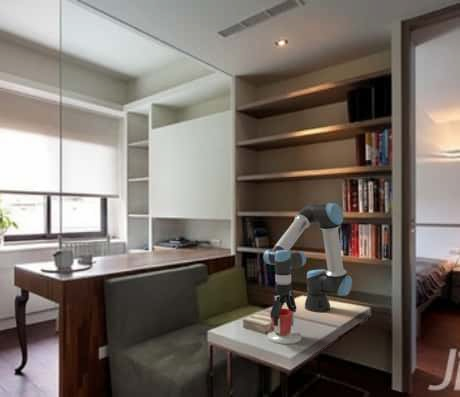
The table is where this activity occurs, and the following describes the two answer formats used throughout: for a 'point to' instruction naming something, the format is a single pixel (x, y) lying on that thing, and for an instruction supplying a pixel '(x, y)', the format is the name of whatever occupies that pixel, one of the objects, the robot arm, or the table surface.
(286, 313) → the flower pot
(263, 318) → the stand
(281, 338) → the pale grey round plate
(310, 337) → the table surface
